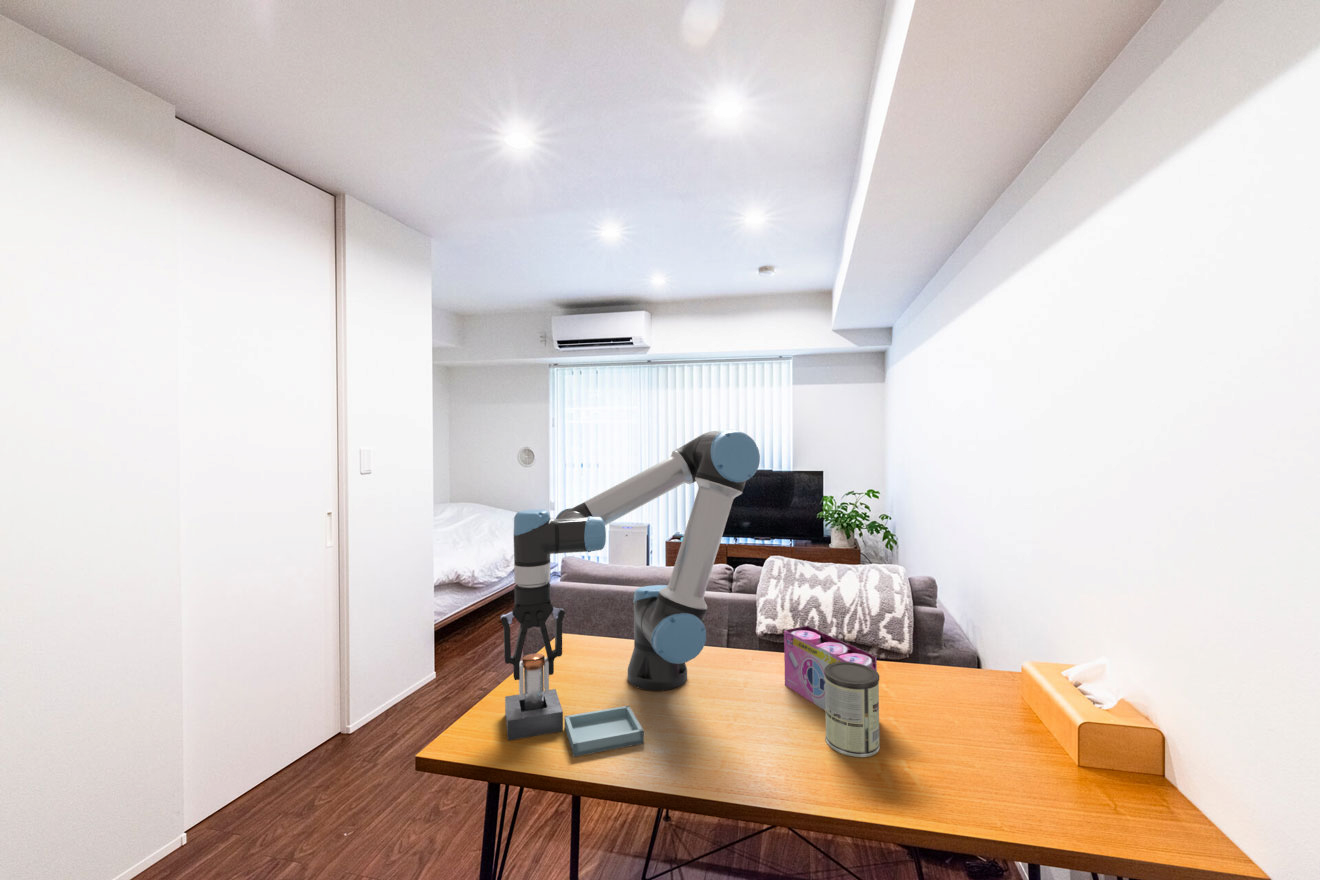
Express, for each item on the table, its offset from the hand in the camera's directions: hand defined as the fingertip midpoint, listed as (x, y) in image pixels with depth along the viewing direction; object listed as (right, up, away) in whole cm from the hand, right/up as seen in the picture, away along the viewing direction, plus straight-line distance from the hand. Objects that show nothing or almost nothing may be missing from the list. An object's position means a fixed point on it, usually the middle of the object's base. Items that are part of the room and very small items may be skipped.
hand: (534, 691), depth 117 cm
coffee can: (+65, -6, -9) cm, 66 cm away
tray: (+15, -6, -5) cm, 17 cm away
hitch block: (0, -7, 0) cm, 7 cm away
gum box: (+66, -6, +9) cm, 67 cm away
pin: (0, -6, 0) cm, 6 cm away
